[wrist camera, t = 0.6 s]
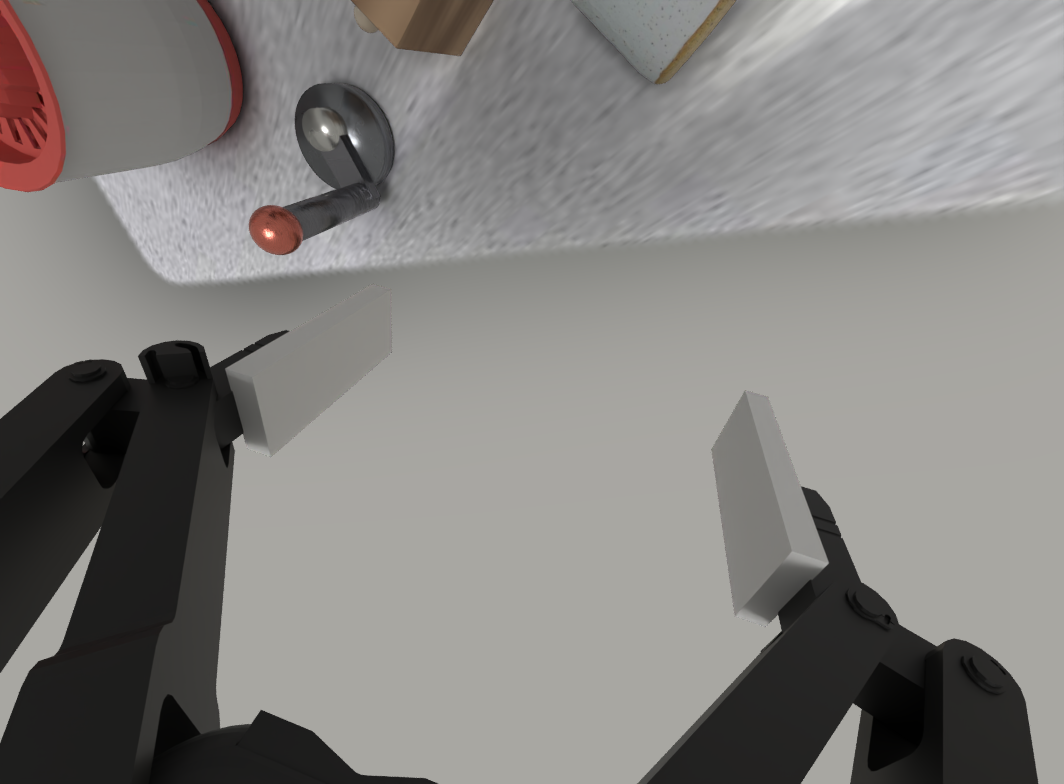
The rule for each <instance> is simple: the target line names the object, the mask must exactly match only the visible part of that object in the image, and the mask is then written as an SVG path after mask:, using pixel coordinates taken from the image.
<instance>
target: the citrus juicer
mask: <svg viewBox="0 0 1064 784" xmlns="http://www.w3.org/2000/svg"><path fill="white" fill-rule="evenodd" d="M242 101H243V83H242V76H241V69H240V66H239V62H238V58H237V54H236V52H235V49H234V47H233V44H232V42H231V39H230V37H229V35H228V33H227V31H226V29H225V27H224V25H223V24H222V22H221V20H220V18H219V17H218V15H217V14H216V12H215V11H214V10H213V8H212V7H211V5H210V4H209V2H208V1H207V0H0V187H3V188H6V189H12V190H18V191H24V192H31V191H40V190H44V189H45V188H47V187H49V186H50V185H52V184H54V183H57V182H62V181H69V180H74V179H80V178H86V177H92V176H98V175H104V174H110V173H116V172H122V171H128V170H134V169H140V168H146V167H152V166H157V165H161V164H165V163H169V162H173V161H176V160H178V159H181V158H183V157H185V156H188V155H190V154H192V153H194V152H196V151H198V150H200V149H202V148H203V147H205V146H206V145H209V144H211V143H213V142H215V141H217V140H218V139H219V138H220V137H221V136H222V135H224V133H225V132H226V131H227V130H228V129H229V128H230V127H231V126H232V125H233V124H234V123H235V121H236V119H237V117H238V115H239V113H240V110H241V105H242Z"/></svg>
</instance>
